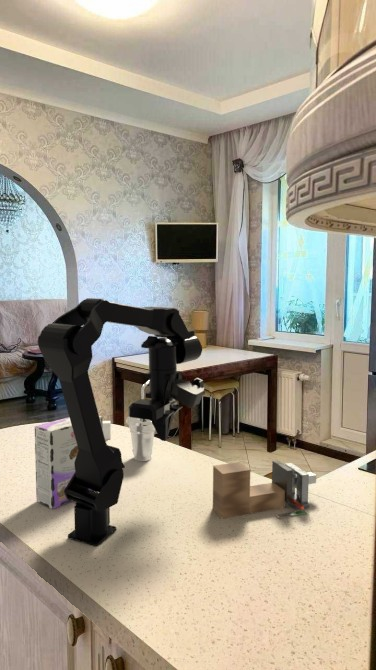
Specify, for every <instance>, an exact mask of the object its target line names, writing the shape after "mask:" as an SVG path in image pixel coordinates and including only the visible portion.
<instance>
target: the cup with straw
mask: <svg viewBox="0 0 376 670" xmlns="http://www.w3.org/2000/svg"><path fill="white" fill-rule="evenodd" d="M147 386H149V379H148V380H147V381H146V382H145V383H144V384H143V385H142V386H141V389H140V392H141V398H140V399H145V388H146V387H147ZM125 423H126V425H128V428H129V432H130V436H131V437H130V440H131V447H132V454H133V460H135V461H137V462H145V461H146V462H147V461H150V460H151V459H152V455H153V447H154V439H155V433H156V430H155V428H154V426H153V424H152V422H151V421H150V420H147V419H140V418H132V417H129V416H127V417H126V420H125Z"/></svg>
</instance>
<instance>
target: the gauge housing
mask: <svg viewBox="0 0 376 670" xmlns="http://www.w3.org/2000/svg"><path fill="white" fill-rule="evenodd" d="M284 465H286V466H287V467H289V468H290V469H292V470H293V475H294V474H296V475H297V486H295V487H292V499H295V500H296V501H298V502H299V503H300V504H302V505H303V506H304V509H303V510H301V509H300V508H298V507H297V506H296V505H295V504H293V503H292V502H291V503H288V504H289V505H290V506H291V507H292V508H295V510H297V511H291V512H285V513H281V514H280V513H279V514H276V515H275V517H276V518H277V519H278V520H279V519H284V518H291V517H297V516H302V515H306V514H308V512H307V511H306V510H305V509H308V508H310V503H309V485H310V484H309V474H308V472H306V471H304V470H302V469H301V468H300V467H298V466H297V465H295V464H294V463H292V462H287V463H284Z"/></svg>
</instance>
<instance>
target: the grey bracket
mask: <svg viewBox="0 0 376 670" xmlns="http://www.w3.org/2000/svg"><path fill="white" fill-rule="evenodd" d="M271 465H272V467H271V468H272V469H271V471H272V472H271V483H275V484H276V485H278V486H279V487H280V488H282V489H283V490H284V491H285V504H289V503H291V502H292V503H293V504H295V505H296V506H297V507H298V508H300V509H299V510H300V511H301V510H305V508H304V506H303V505H302V504H300V503H299V502H298V501H296V500H295V499H292V487H295V488H296V487H297V475H296V474H294V475H293V470H292V469H290V468H289V467H287V466H286V465H285V463H284V462H281V461H279V459H276V460H275V459H274V460H272V464H271ZM307 473H308V474H309V485H312V484H313V485H314V484H316V483H317V474H316V473H313V472H312V471H310V472H309V471H308V472H307Z"/></svg>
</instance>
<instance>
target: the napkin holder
mask: <svg viewBox="0 0 376 670" xmlns="http://www.w3.org/2000/svg"><path fill="white" fill-rule="evenodd" d="M102 427H103V434H104V438H105V441H106V440H111V438H112V435H111V434H112V433H111V427H112V426H111V420H102Z"/></svg>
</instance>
